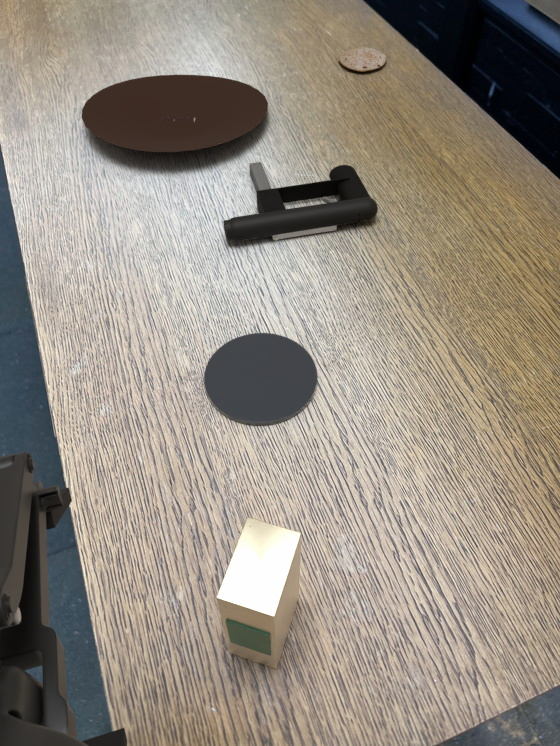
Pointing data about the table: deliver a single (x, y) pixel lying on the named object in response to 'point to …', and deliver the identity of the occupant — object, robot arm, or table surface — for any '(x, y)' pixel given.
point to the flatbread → (362, 59)
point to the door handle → (303, 219)
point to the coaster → (260, 379)
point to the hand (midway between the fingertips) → (73, 621)
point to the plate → (174, 112)
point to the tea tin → (261, 591)
